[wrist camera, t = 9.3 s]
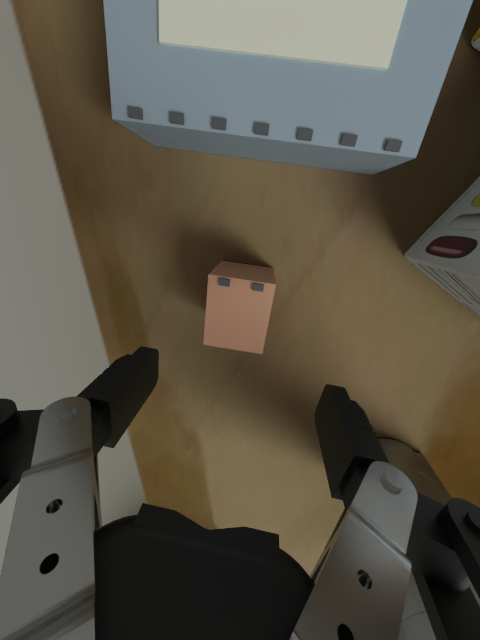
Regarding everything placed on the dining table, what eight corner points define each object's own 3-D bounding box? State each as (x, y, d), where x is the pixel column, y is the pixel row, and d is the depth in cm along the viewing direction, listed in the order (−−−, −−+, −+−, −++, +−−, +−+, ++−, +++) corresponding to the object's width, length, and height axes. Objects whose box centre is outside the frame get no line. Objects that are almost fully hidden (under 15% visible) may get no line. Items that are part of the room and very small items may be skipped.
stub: (273, 268, 23) (276, 284, 17) (262, 324, 25) (262, 355, 19) (221, 260, 23) (207, 274, 17) (216, 317, 25) (202, 345, 20)
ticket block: (427, -7, 15) (527, -143, 9) (372, 174, 19) (417, 157, 13) (151, -37, 16) (86, -181, 10) (154, 146, 20) (110, 117, 14)
